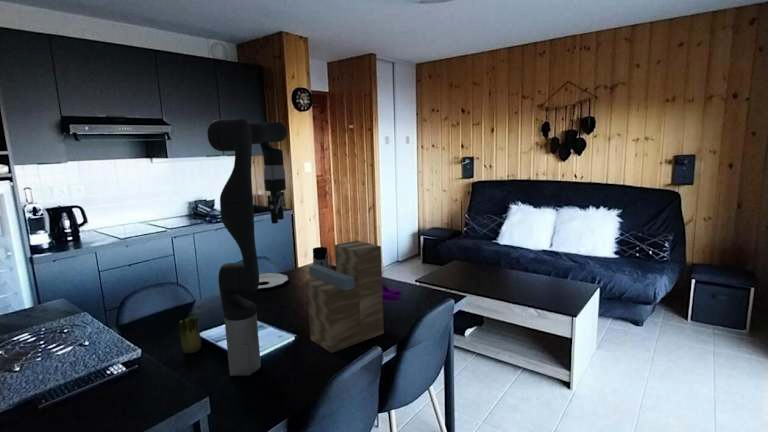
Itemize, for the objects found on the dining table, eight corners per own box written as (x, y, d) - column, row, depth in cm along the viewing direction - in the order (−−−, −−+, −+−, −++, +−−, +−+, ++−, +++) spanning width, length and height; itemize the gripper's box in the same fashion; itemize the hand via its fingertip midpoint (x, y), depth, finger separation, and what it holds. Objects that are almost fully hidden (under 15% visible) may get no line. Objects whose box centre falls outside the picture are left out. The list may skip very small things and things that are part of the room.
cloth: (356, 304, 183) (355, 291, 182) (363, 290, 202) (363, 278, 201) (408, 305, 181) (407, 291, 180) (410, 291, 199) (410, 278, 198)
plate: (237, 280, 224) (237, 276, 224) (286, 274, 232) (286, 271, 231) (236, 294, 201) (236, 290, 200) (290, 288, 208) (290, 284, 208)
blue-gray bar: (354, 288, 138) (353, 277, 137) (345, 290, 136) (344, 280, 135) (317, 273, 156) (317, 264, 155) (309, 275, 153) (308, 266, 153)
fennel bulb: (181, 356, 140) (177, 321, 138) (184, 349, 145) (180, 316, 143) (200, 353, 142) (197, 319, 140) (202, 347, 146) (199, 314, 144)
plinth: (383, 333, 153) (380, 246, 148) (331, 352, 139) (326, 257, 134) (360, 321, 163) (357, 240, 158) (310, 339, 150) (304, 250, 145)
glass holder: (324, 272, 232) (322, 245, 229) (338, 278, 221) (337, 250, 219) (310, 276, 226) (308, 248, 224) (324, 281, 215) (322, 253, 213)
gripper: (270, 176, 163) (273, 218, 165) (258, 179, 149) (262, 224, 151) (289, 176, 163) (292, 218, 165) (280, 178, 149) (283, 224, 151)
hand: (277, 221), depth 158 cm, fingers open, 8 cm apart
